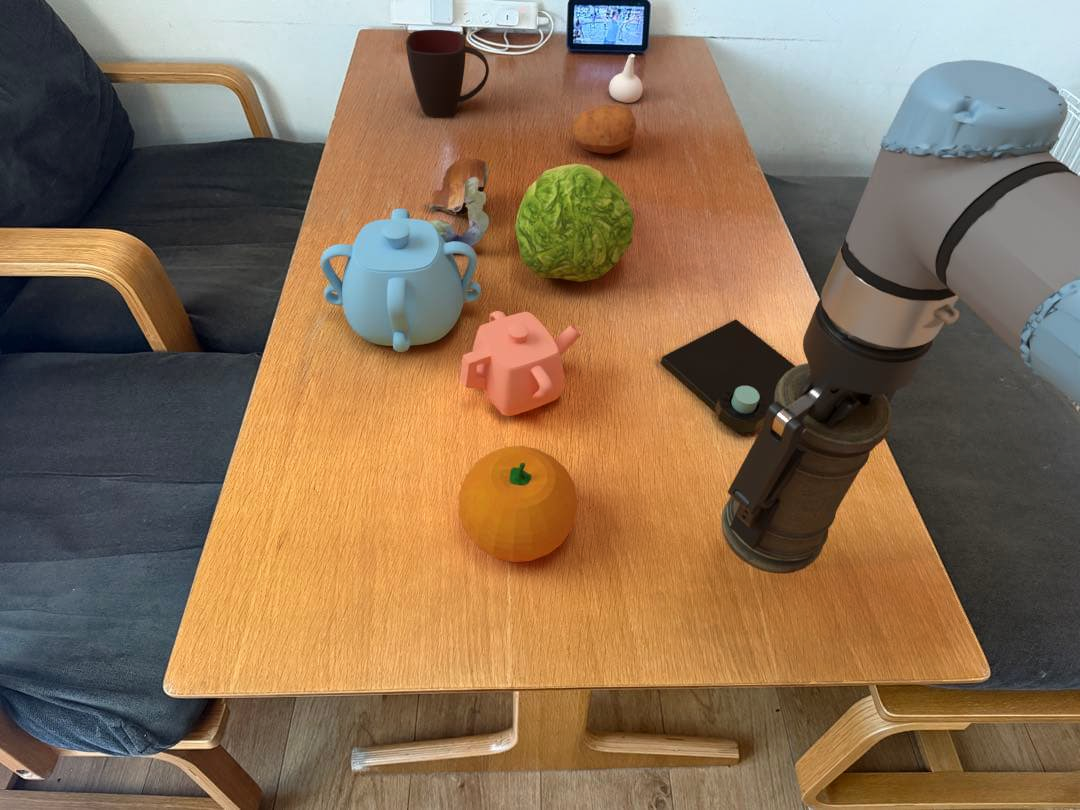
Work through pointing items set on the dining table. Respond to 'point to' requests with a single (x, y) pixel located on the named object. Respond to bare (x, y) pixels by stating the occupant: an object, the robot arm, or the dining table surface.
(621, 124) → the potato
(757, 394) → the button
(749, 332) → the scale
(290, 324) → the dining table surface
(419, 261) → the decorative pot
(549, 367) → the teapot
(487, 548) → the fruit
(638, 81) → the garlic bulb
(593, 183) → the lettuce
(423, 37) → the mug
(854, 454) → the container
